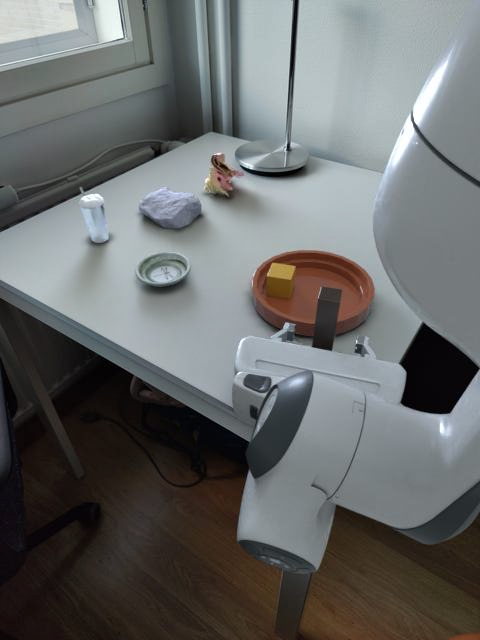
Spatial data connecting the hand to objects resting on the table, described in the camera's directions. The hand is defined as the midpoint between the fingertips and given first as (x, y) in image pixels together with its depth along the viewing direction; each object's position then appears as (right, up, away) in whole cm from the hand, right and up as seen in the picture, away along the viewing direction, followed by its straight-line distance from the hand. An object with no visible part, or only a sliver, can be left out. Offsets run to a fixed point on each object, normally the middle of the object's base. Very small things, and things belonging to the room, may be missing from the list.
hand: (325, 333), depth 61 cm
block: (-4, +7, +17) cm, 19 cm away
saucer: (-25, +9, +21) cm, 34 cm away
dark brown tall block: (0, -6, +4) cm, 7 cm away
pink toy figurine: (-15, +32, +47) cm, 59 cm away
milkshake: (-39, +18, +32) cm, 54 cm away
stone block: (-27, +24, +38) cm, 52 cm away
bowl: (0, +5, +16) cm, 17 cm away
